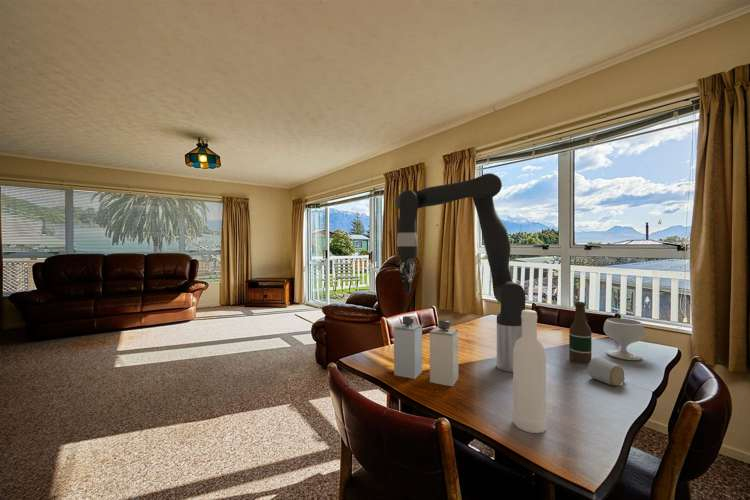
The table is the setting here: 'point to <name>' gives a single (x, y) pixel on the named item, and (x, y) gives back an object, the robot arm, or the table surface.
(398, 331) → the block
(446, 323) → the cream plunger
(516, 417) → the bottle
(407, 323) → the grey plunger
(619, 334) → the chalice
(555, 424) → the table surface
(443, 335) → the block
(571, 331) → the beer bottle
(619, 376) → the cream cylinder
